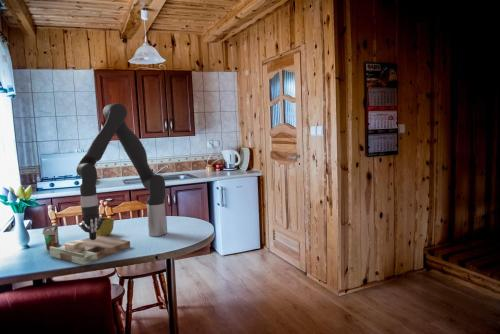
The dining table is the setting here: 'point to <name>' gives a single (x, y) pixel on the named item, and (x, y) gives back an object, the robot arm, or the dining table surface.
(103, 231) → the flower pot
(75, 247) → the block
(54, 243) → the food container
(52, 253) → the wooden puzzle tray
